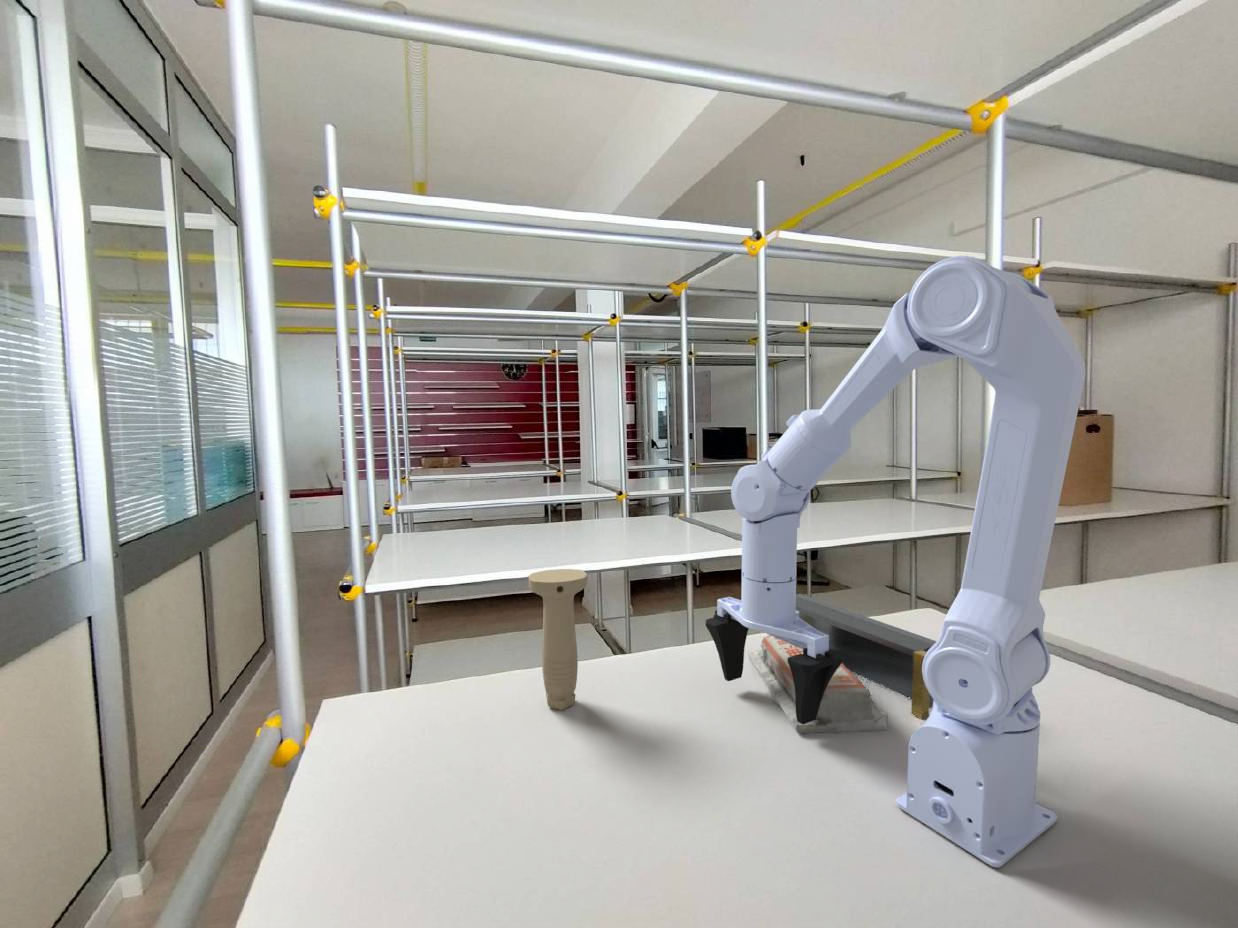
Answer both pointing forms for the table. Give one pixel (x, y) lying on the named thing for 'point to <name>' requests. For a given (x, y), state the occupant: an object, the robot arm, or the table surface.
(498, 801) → the table surface
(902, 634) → the grey long bar
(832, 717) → the packaged product
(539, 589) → the handle
